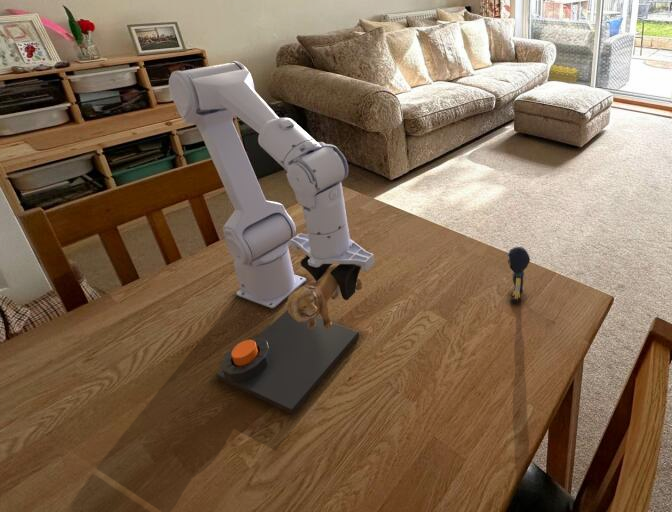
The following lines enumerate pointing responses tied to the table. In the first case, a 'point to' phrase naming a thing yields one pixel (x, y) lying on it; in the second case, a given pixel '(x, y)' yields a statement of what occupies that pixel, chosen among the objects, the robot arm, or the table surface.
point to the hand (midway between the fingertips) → (338, 292)
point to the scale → (289, 361)
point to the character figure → (518, 270)
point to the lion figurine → (315, 299)
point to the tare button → (244, 352)
